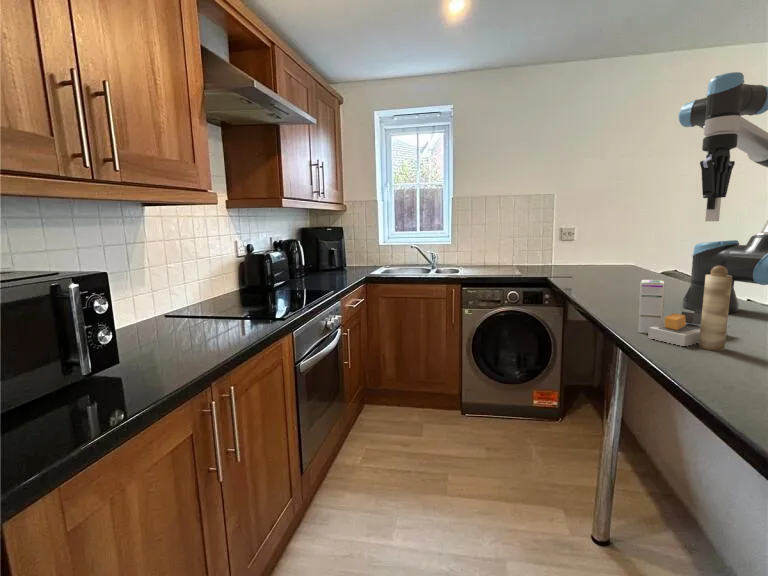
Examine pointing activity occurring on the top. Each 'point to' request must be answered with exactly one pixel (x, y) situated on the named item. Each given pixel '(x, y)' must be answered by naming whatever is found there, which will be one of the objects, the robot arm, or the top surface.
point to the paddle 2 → (698, 311)
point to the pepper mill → (715, 309)
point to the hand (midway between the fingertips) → (711, 221)
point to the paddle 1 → (675, 321)
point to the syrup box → (650, 304)
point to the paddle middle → (692, 318)
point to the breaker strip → (677, 334)
